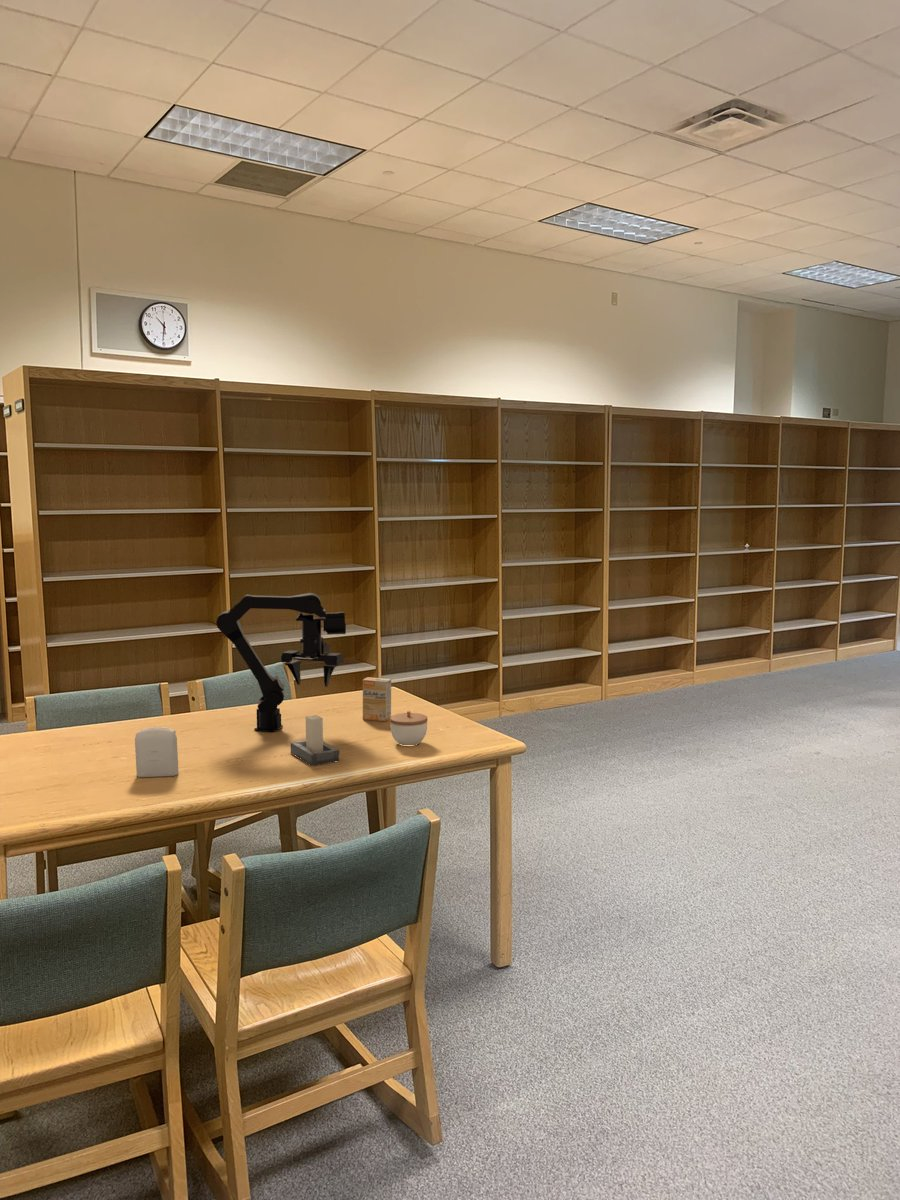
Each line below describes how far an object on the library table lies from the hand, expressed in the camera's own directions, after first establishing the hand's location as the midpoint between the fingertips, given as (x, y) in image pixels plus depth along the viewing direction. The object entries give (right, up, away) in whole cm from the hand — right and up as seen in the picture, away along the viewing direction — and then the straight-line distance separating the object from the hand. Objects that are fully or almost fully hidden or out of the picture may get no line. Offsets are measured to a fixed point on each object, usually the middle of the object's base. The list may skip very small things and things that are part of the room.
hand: (312, 685), depth 264 cm
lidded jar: (+30, -15, -16) cm, 37 cm away
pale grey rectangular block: (+5, -16, -29) cm, 34 cm away
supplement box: (+19, -12, +11) cm, 25 cm away
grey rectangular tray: (+5, -17, -29) cm, 34 cm away
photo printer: (-32, -19, -45) cm, 58 cm away
